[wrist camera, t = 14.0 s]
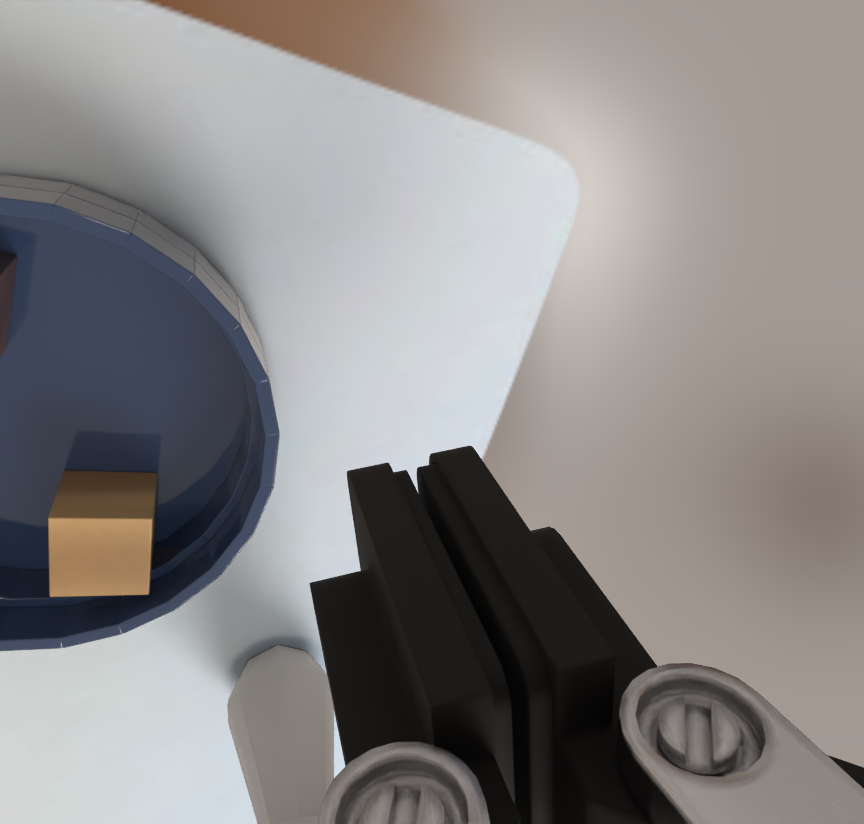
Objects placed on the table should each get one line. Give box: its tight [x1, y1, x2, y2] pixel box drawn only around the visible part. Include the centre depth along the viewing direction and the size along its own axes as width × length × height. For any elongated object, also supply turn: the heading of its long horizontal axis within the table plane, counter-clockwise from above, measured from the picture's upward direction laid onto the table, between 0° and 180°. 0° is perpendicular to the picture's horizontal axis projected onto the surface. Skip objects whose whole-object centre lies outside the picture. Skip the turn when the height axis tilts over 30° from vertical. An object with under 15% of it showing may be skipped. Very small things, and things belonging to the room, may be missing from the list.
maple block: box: [48, 470, 157, 597], centre depth 33 cm, size 4×4×4 cm
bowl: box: [0, 174, 280, 651], centre depth 30 cm, size 19×19×5 cm
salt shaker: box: [228, 645, 334, 824], centre depth 37 cm, size 6×6×13 cm
